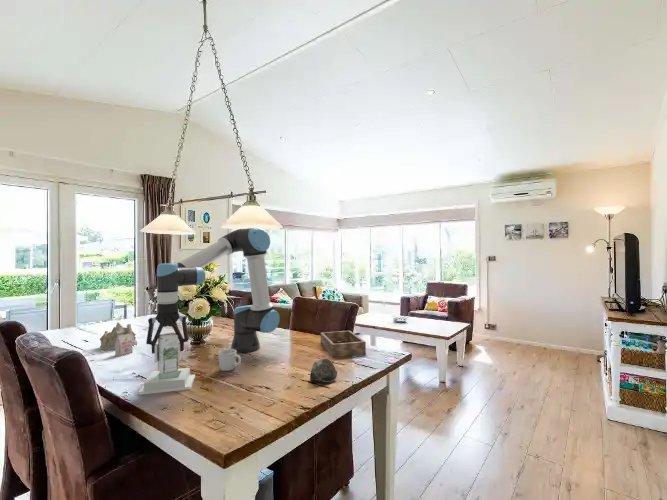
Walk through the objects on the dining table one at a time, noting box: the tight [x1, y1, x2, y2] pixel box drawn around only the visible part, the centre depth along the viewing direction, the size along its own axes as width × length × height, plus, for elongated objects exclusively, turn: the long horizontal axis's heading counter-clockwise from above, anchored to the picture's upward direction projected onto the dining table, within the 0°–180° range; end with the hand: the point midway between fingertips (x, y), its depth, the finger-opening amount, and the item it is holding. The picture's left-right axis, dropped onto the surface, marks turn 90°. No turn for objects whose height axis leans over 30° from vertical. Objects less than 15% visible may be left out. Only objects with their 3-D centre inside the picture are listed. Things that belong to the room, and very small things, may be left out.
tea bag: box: [114, 334, 134, 357], centre depth 181 cm, size 4×7×10 cm, turn 152°
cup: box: [217, 348, 242, 372], centre depth 155 cm, size 11×8×8 cm
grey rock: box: [99, 321, 138, 351], centre depth 196 cm, size 16×16×15 cm
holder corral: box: [320, 330, 367, 358], centre depth 187 cm, size 17×26×6 cm, turn 15°
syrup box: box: [157, 332, 179, 374], centre depth 137 cm, size 6×6×14 cm
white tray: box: [137, 367, 196, 396], centre depth 137 cm, size 18×14×4 cm
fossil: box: [309, 358, 338, 385], centre depth 141 cm, size 11×9×10 cm
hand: (168, 360), depth 137 cm, fingers closed on syrup box, 8 cm apart
